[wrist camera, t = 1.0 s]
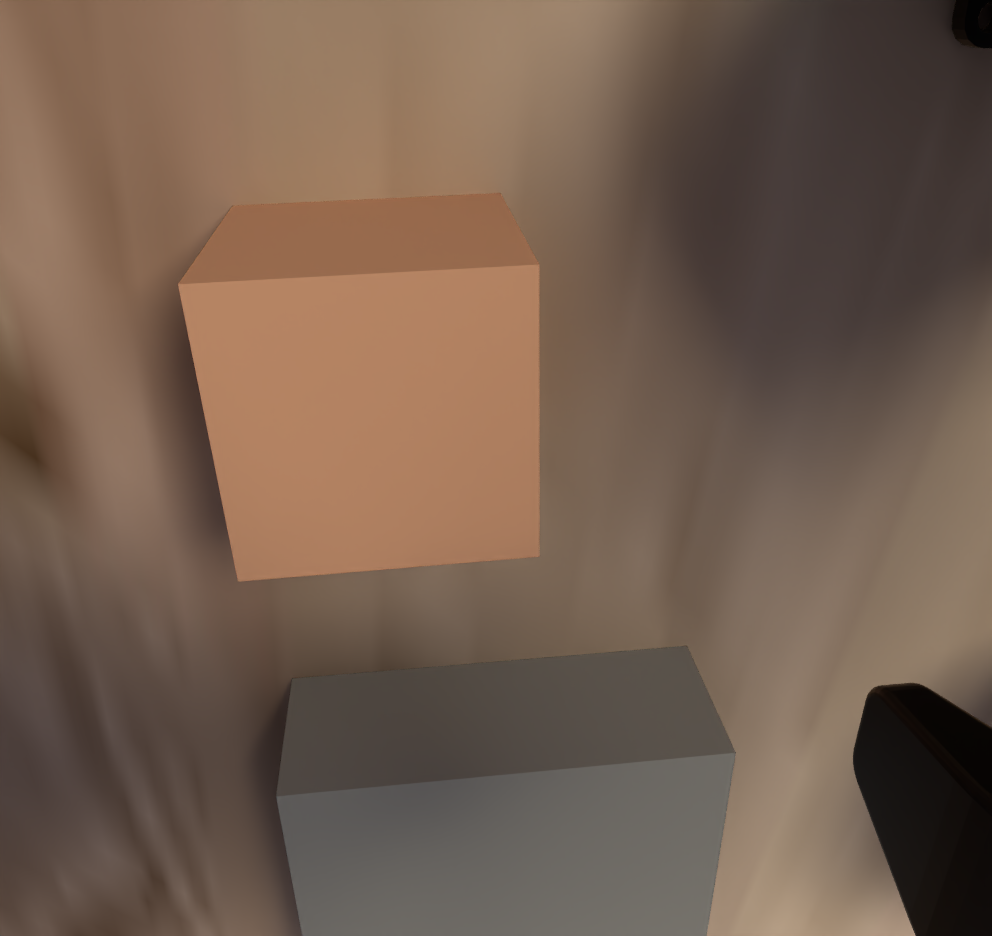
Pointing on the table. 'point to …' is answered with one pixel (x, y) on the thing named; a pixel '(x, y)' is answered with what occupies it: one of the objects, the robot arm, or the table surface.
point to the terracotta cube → (370, 383)
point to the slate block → (506, 798)
